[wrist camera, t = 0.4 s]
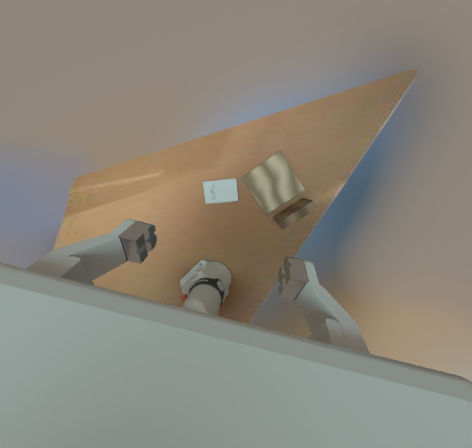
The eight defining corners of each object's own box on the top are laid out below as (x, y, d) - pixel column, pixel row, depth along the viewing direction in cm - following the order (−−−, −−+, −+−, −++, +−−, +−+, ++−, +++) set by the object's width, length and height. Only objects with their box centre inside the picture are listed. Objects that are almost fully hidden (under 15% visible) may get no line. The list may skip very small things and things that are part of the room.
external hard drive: (238, 200, 64) (206, 203, 66) (236, 178, 62) (203, 181, 64) (238, 201, 62) (205, 204, 64) (236, 178, 61) (202, 181, 62)
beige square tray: (265, 214, 64) (265, 214, 63) (241, 178, 62) (241, 178, 61) (304, 189, 60) (304, 189, 60) (280, 150, 58) (280, 150, 58)
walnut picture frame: (277, 222, 64) (282, 229, 53) (273, 216, 64) (277, 222, 53) (306, 204, 61) (317, 208, 51) (302, 198, 61) (313, 200, 50)
